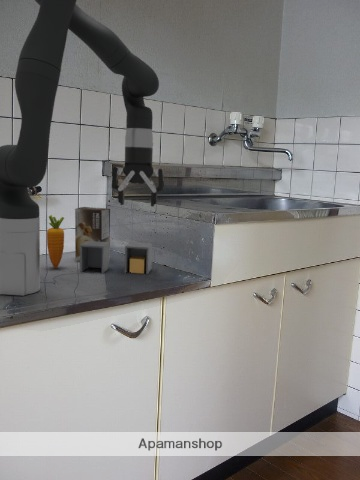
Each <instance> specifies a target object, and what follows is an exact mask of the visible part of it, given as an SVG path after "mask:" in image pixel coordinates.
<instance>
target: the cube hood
mask: <svg viewBox="0 0 360 480" xmlns="http://www.w3.org/2000/svg"><path fill="white" fill-rule="evenodd" d="M132 256H141V257H147V260H146V271H145V274H146V275H148V274H149V273H150V271H151V270H152V269H153V268H152V267H153V265H152V264H153V263H152V262H153V261H152V260H153V243H150V242H149V243H148V242H132V241H131V242H128V243H127V244H125V246H124V273H125V274H126V272H127V273H128V271H130V258H131V257H132Z"/></svg>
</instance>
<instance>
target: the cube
mask: <svg viewBox="0 0 360 480" xmlns="http://www.w3.org/2000/svg"><path fill="white" fill-rule="evenodd" d="M146 260H147V257H141V256H132V257H131V258H130V269H129V273H130V272H131V273H132V274H146ZM131 273H130V274H131Z"/></svg>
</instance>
